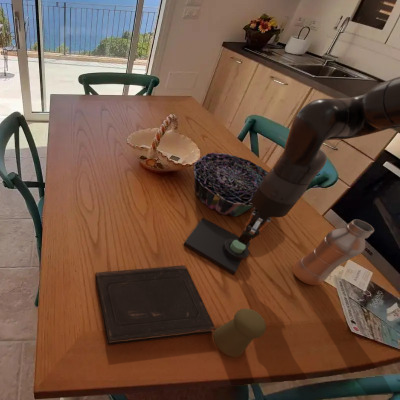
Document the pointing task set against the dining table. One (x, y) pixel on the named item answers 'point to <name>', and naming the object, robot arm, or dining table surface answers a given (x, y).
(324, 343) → the dining table surface
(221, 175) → the decorative bowl
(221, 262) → the dark grey button base
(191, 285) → the hardcover book
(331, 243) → the plastic bottle
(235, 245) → the tare button
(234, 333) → the cork
